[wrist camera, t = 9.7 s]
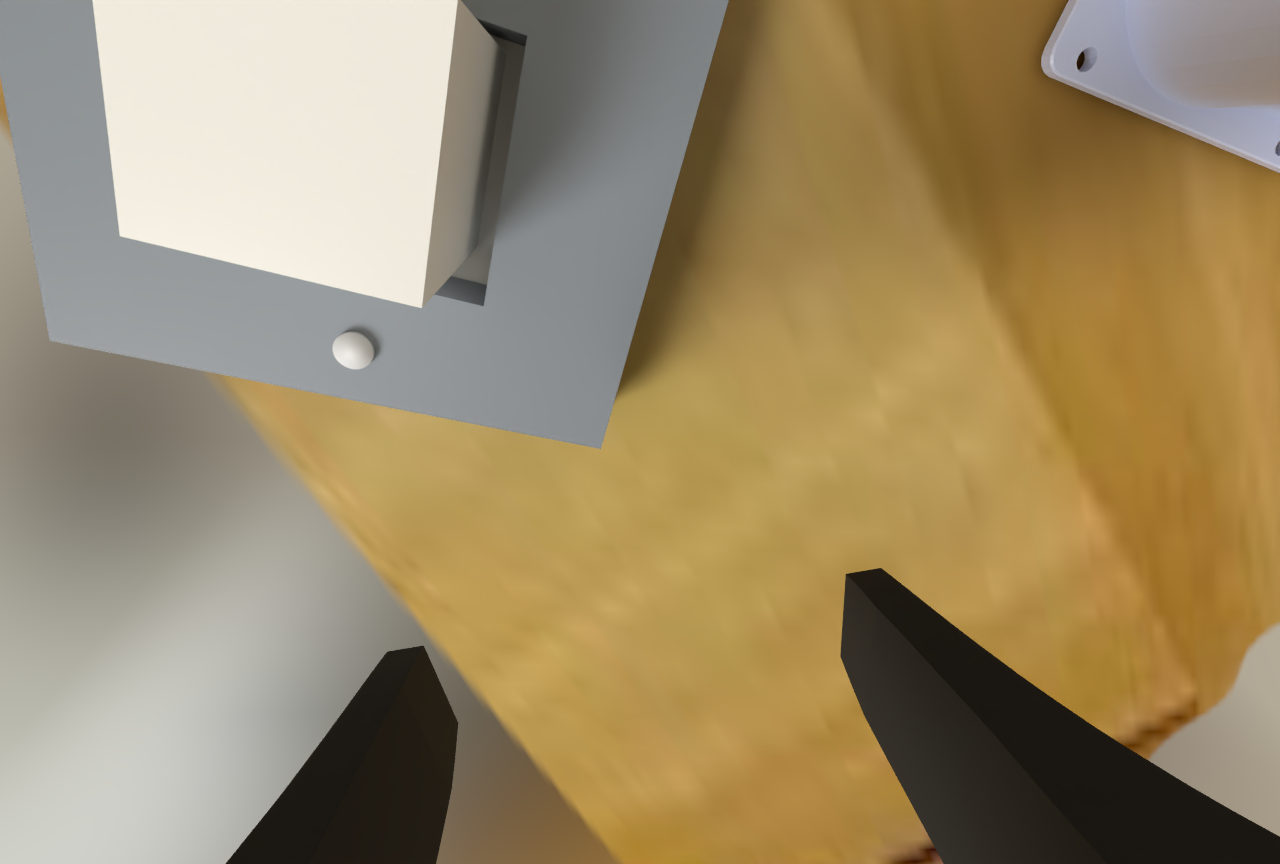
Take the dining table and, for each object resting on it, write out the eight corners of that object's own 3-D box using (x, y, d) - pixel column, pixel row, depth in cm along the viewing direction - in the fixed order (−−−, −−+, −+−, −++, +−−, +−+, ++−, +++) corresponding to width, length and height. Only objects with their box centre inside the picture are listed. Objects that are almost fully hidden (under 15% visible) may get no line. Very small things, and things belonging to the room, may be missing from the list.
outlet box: (724, -55, 13) (758, -98, 10) (597, 410, 18) (601, 452, 15) (48, -334, 10) (-118, -483, 8) (127, 311, 15) (42, 343, 13)
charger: (506, 54, 13) (458, -3, 8) (476, 247, 15) (421, 307, 9) (297, -18, 12) (74, -142, 7) (294, 198, 14) (119, 235, 8)
